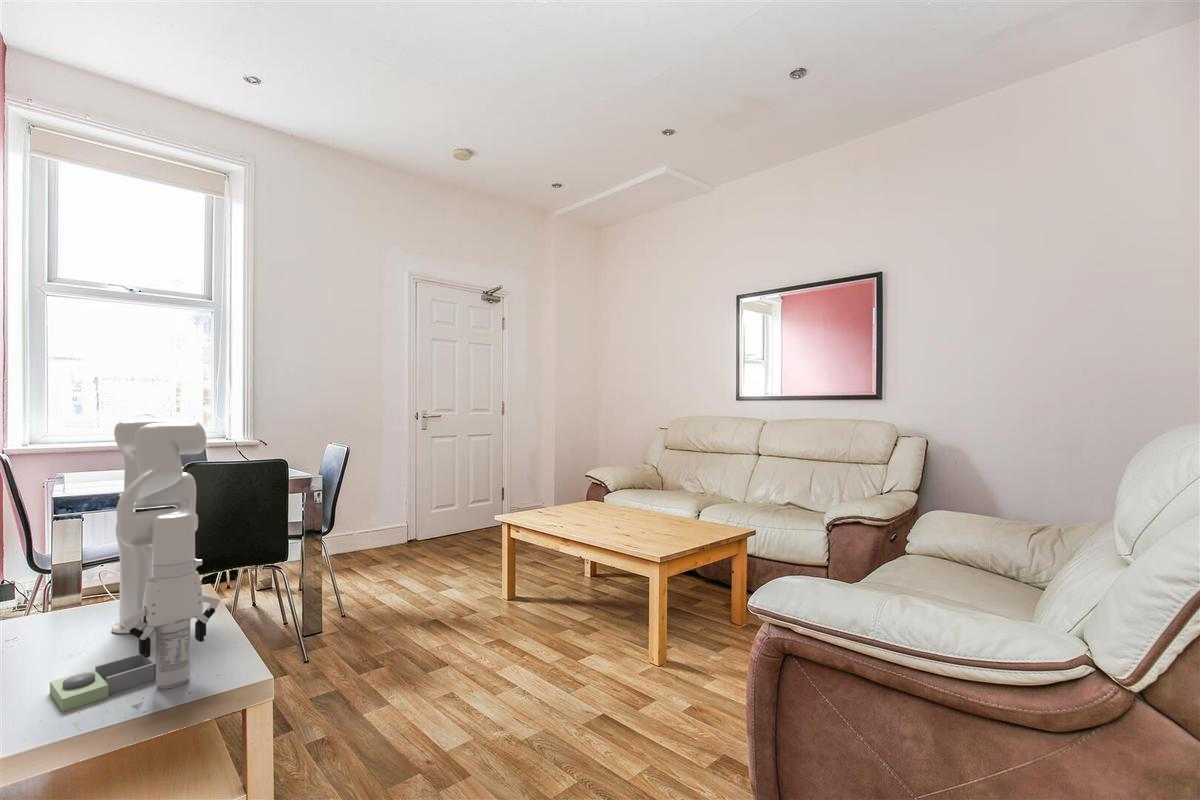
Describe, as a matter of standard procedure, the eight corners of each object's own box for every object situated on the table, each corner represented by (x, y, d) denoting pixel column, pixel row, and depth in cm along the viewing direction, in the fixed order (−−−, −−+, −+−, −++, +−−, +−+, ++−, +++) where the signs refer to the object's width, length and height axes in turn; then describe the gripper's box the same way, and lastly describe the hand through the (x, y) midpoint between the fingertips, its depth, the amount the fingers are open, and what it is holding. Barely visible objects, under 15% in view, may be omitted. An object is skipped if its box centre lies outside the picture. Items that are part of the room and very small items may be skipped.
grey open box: (49, 693, 116) (50, 676, 116) (143, 665, 129) (143, 650, 129) (62, 711, 109) (62, 694, 109) (160, 679, 122) (160, 664, 122)
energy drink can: (190, 673, 125) (191, 607, 125) (189, 684, 120) (189, 616, 120) (157, 681, 121) (157, 613, 122) (153, 692, 116) (154, 622, 117)
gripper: (212, 558, 130) (212, 631, 130) (118, 576, 116) (117, 658, 116) (225, 563, 126) (225, 638, 125) (128, 582, 112) (128, 667, 111)
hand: (173, 647), depth 120 cm, fingers open, 9 cm apart
